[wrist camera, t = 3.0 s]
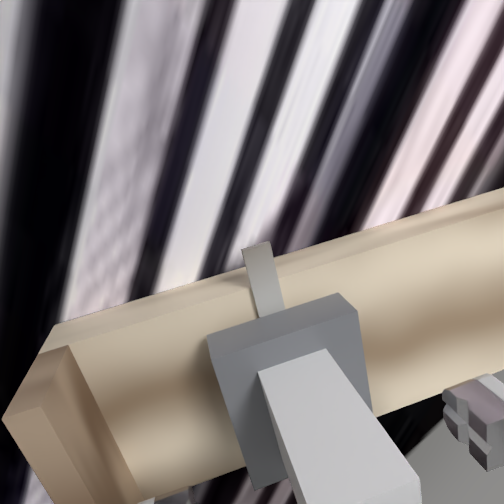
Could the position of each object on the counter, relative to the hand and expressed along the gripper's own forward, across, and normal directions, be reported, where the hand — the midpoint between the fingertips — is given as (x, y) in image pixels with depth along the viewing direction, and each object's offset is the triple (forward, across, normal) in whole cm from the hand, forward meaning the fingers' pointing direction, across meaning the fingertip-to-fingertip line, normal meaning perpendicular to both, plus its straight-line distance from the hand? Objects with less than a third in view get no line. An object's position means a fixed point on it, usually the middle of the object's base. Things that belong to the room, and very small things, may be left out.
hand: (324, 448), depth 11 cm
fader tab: (+3, 0, 0) cm, 3 cm away
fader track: (+6, -7, 0) cm, 9 cm away
